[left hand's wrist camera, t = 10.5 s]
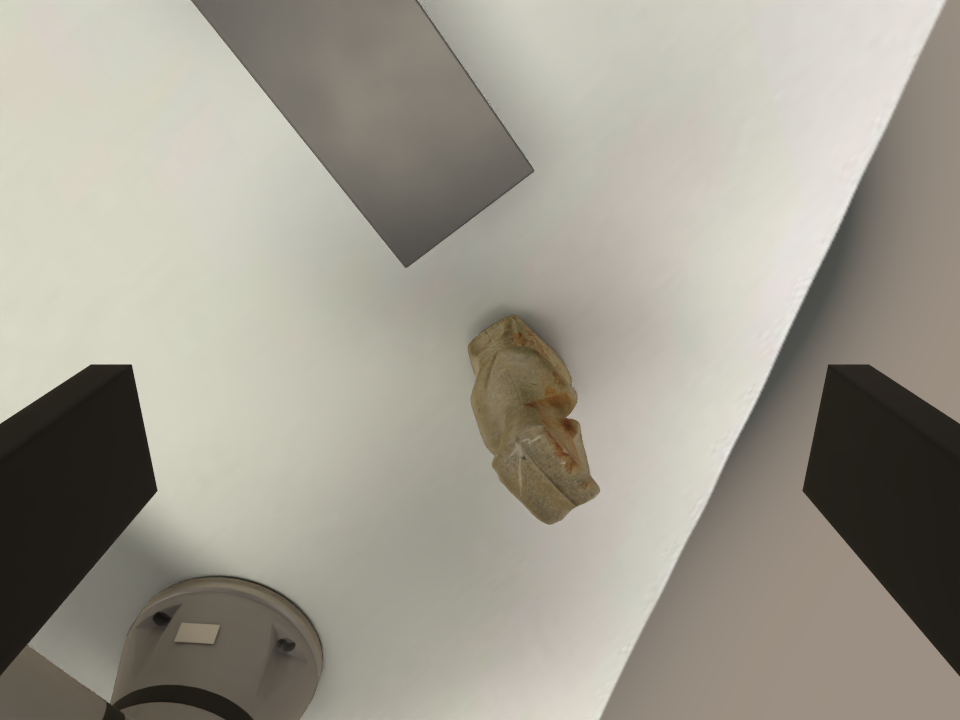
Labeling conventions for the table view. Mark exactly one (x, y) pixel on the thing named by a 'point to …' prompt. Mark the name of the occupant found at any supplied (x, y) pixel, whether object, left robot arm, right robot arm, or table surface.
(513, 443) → the sculpture
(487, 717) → the table surface
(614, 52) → the table surface
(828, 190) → the table surface
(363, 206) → the bar
